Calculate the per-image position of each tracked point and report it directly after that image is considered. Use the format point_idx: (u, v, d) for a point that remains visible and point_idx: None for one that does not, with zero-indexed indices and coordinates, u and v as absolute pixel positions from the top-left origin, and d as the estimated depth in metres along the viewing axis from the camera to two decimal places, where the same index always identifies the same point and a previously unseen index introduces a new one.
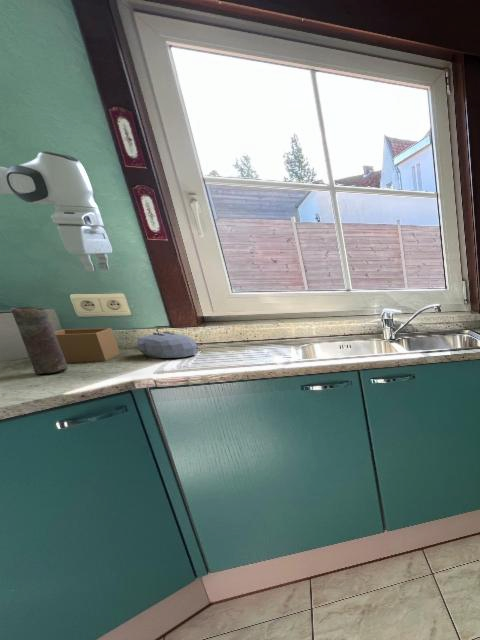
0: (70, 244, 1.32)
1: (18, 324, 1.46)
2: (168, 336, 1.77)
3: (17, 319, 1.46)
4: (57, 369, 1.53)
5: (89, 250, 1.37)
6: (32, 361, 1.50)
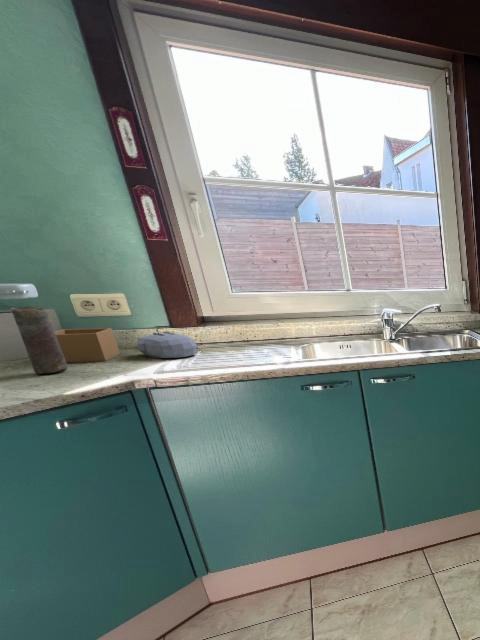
0: None
1: (18, 324, 1.46)
2: (168, 336, 1.77)
3: (17, 319, 1.46)
4: (57, 369, 1.53)
5: None
6: (32, 361, 1.50)
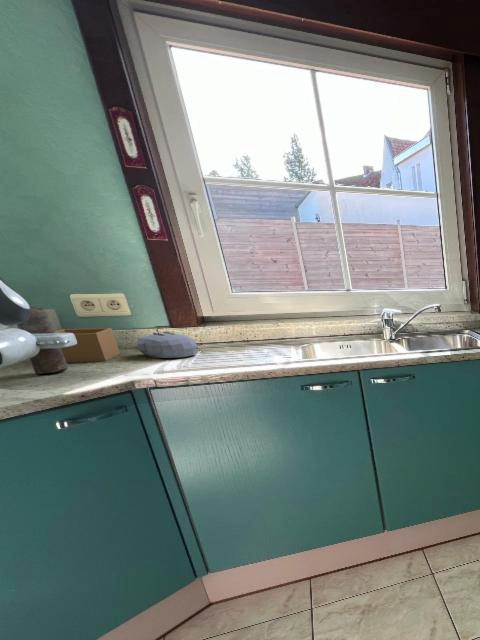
0: None
1: (18, 324, 1.46)
2: (168, 336, 1.77)
3: None
4: (57, 369, 1.53)
5: None
6: (32, 361, 1.50)
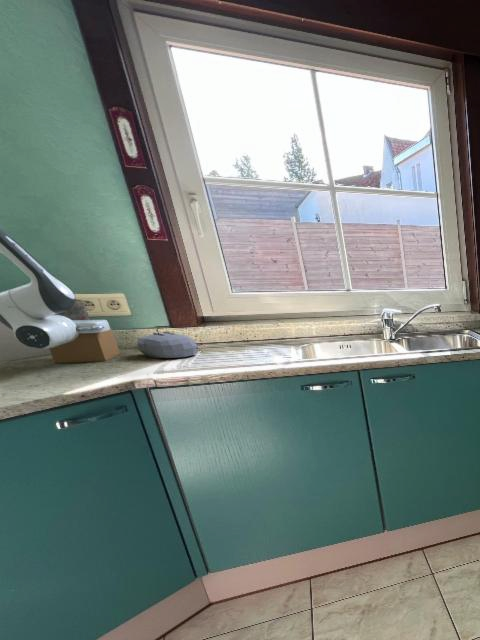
0: None
1: (60, 313, 1.66)
2: (168, 336, 1.77)
3: None
4: None
5: None
6: None
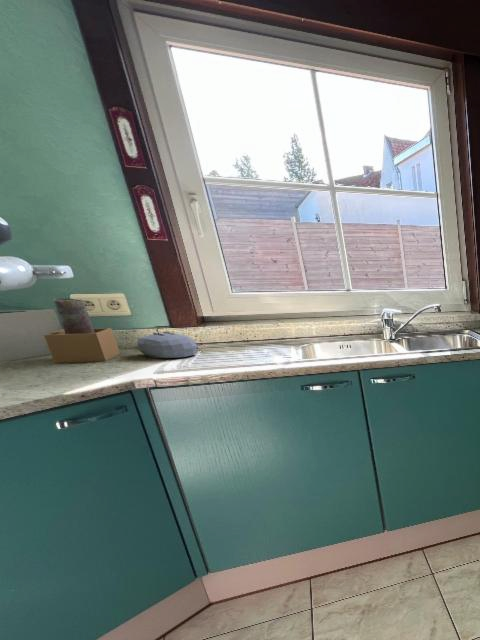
0: None
1: (60, 313, 1.66)
2: (168, 336, 1.77)
3: (59, 309, 1.65)
4: None
5: None
6: None
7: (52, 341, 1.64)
